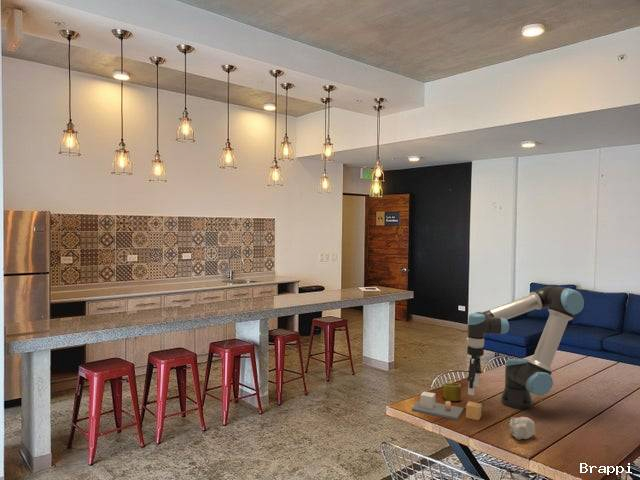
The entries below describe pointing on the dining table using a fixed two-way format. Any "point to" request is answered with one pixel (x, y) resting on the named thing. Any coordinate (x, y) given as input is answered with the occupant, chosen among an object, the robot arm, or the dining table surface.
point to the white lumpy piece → (522, 427)
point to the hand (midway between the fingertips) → (473, 390)
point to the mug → (452, 391)
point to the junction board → (436, 407)
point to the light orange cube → (473, 410)
